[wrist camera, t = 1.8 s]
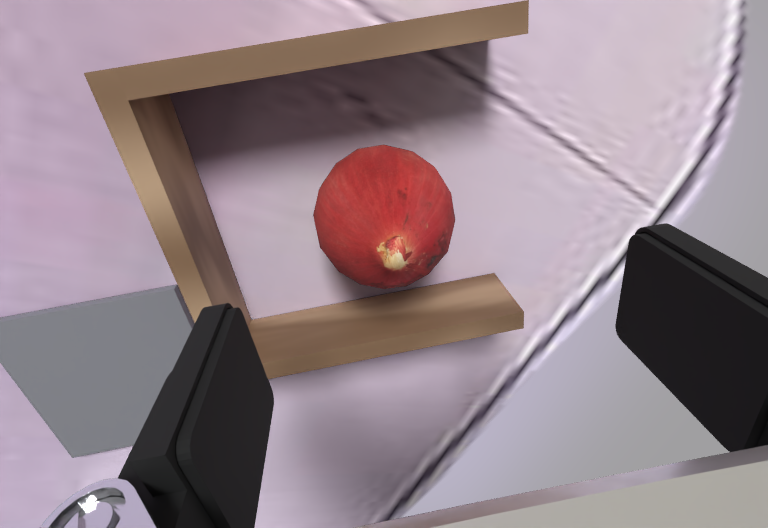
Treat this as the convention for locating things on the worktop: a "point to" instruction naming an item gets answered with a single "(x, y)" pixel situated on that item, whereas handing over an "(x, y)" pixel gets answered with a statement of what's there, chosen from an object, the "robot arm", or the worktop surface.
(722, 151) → the worktop surface
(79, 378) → the mat
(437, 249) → the onion
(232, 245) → the worktop surface
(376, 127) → the worktop surface
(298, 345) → the tan u-shaped frame
